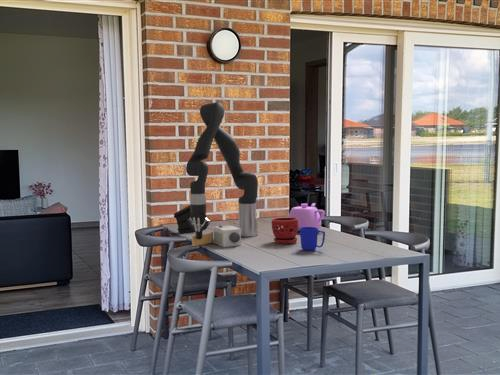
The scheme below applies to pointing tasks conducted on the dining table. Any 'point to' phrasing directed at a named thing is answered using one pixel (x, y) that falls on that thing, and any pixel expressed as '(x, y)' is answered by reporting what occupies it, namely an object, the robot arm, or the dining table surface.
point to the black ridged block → (183, 220)
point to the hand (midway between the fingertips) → (199, 239)
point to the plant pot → (285, 230)
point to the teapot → (307, 216)
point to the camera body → (227, 235)
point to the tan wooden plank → (205, 239)
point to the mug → (310, 238)
